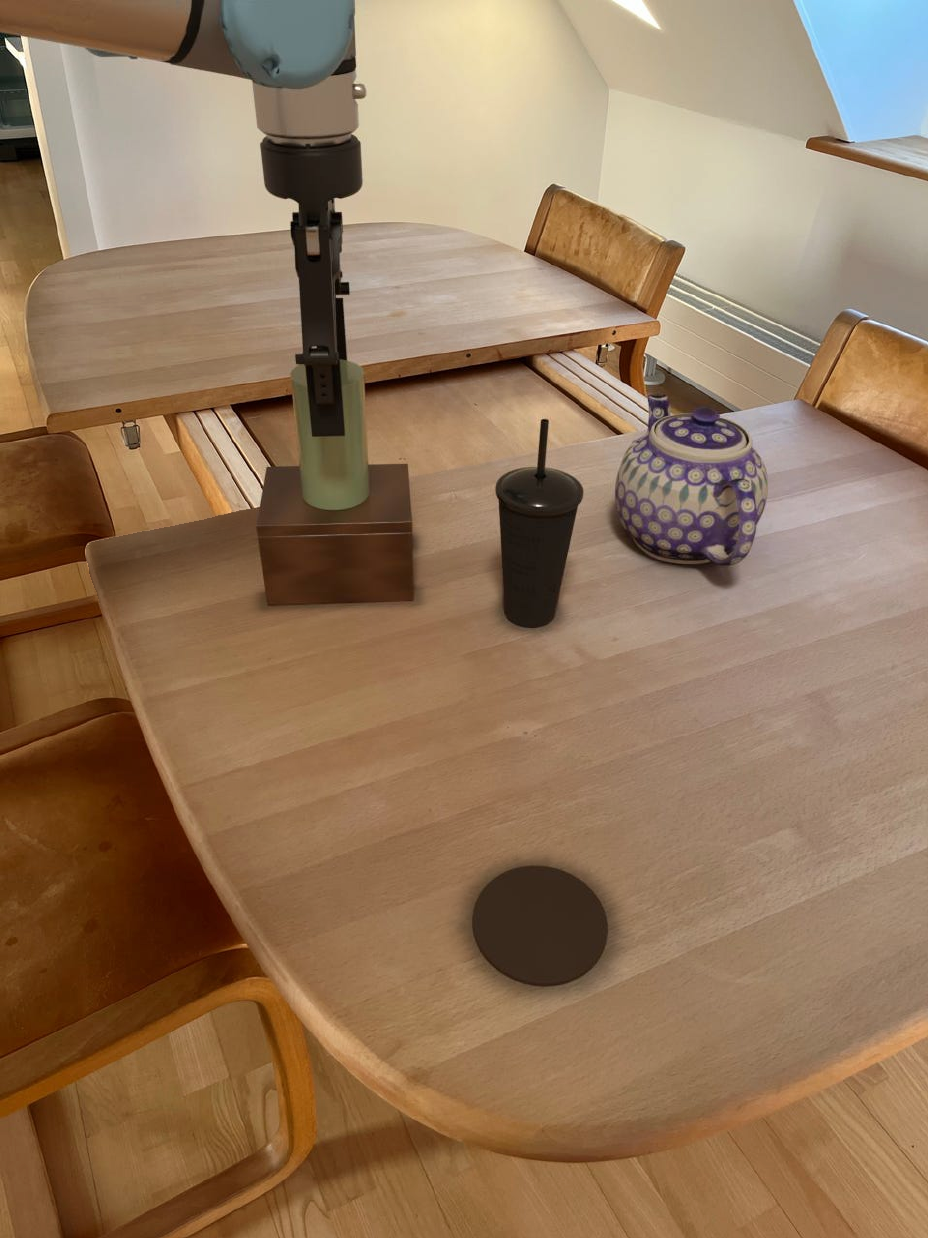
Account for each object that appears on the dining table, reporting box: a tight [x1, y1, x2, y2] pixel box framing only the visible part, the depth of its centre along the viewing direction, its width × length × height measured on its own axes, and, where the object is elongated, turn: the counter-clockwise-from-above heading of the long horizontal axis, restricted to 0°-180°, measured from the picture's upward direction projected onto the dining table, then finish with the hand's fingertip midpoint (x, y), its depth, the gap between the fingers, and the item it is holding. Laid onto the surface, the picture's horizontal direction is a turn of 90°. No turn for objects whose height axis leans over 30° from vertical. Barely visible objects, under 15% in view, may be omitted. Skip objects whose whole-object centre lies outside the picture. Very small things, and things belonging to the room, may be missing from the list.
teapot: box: [614, 394, 769, 567], centre depth 96 cm, size 25×15×15 cm, turn 9°
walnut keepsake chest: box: [255, 463, 414, 606], centre depth 92 cm, size 14×11×9 cm
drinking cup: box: [494, 418, 585, 629], centre depth 83 cm, size 8×8×20 cm
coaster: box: [471, 865, 609, 987], centre depth 62 cm, size 9×9×1 cm
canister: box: [289, 359, 370, 510], centre depth 85 cm, size 6×6×12 cm
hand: (331, 399), depth 83 cm, fingers open, 13 cm apart
